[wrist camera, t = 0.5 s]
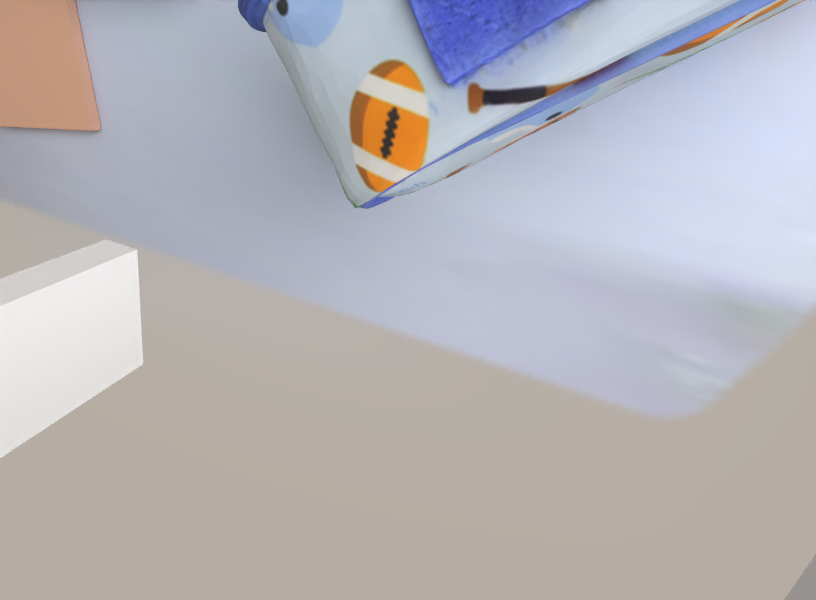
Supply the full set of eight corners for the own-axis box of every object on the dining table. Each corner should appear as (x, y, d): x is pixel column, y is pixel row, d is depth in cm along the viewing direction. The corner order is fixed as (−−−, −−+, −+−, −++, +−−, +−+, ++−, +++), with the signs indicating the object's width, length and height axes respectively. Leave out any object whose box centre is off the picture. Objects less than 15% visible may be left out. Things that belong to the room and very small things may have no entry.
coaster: (-34, -16, 43) (-45, -17, 42) (71, -21, 40) (61, -23, 39) (4, 124, 47) (-6, 125, 46) (101, 129, 44) (92, 130, 43)
